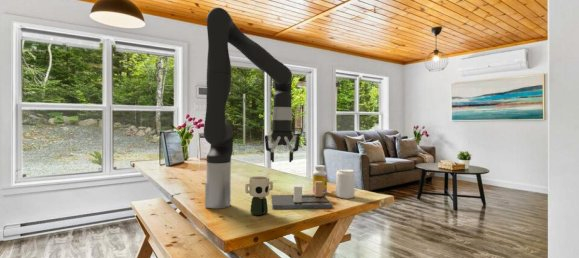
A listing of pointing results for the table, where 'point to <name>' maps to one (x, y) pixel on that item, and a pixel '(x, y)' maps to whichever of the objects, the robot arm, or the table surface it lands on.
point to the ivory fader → (297, 193)
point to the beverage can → (345, 183)
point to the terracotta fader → (318, 188)
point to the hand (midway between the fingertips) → (281, 161)
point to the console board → (306, 203)
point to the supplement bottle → (320, 177)
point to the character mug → (259, 193)
